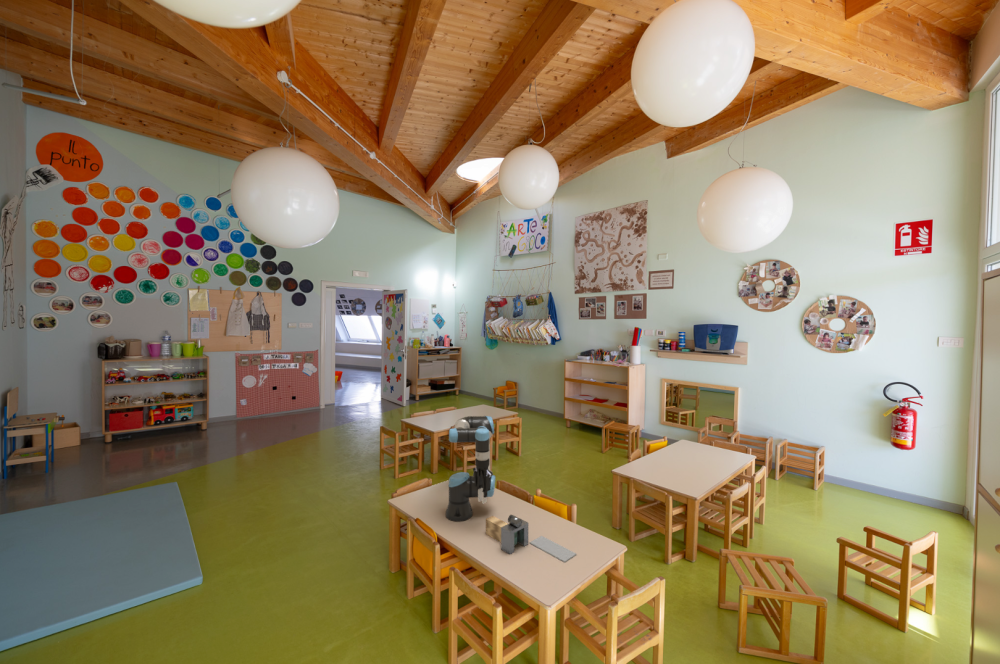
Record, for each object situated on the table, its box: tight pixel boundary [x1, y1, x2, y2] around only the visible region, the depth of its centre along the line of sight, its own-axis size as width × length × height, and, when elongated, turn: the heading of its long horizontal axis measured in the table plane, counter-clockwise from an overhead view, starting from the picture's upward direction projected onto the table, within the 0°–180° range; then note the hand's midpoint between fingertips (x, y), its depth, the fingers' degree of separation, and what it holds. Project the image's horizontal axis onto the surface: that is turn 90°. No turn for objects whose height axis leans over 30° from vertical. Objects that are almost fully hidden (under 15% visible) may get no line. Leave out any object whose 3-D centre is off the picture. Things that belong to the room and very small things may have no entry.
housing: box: [500, 514, 529, 555], centre depth 204 cm, size 6×13×15 cm, turn 133°
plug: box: [485, 515, 518, 546], centre depth 212 cm, size 18×5×8 cm, turn 43°
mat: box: [529, 535, 578, 563], centre depth 202 cm, size 22×9×1 cm, turn 43°
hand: (482, 501), depth 222 cm, fingers open, 3 cm apart
